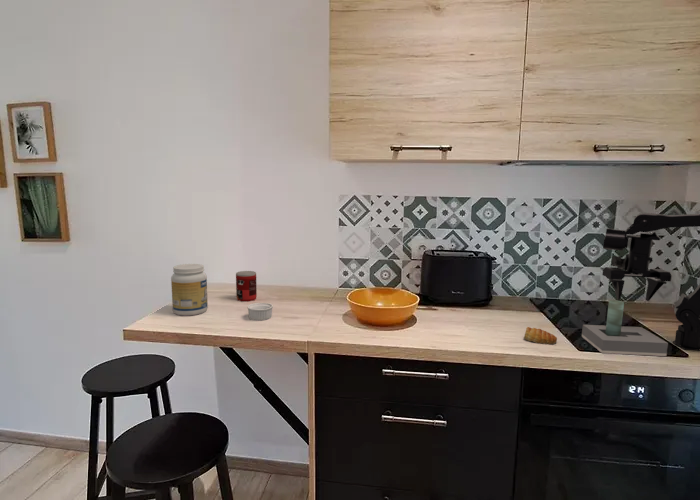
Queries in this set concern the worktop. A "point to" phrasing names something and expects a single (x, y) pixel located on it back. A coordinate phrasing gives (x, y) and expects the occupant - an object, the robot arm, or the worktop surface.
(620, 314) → the teal post
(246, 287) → the canned food
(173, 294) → the supplement tub
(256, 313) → the ramekin
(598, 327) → the keyhole plate
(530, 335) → the pastry
